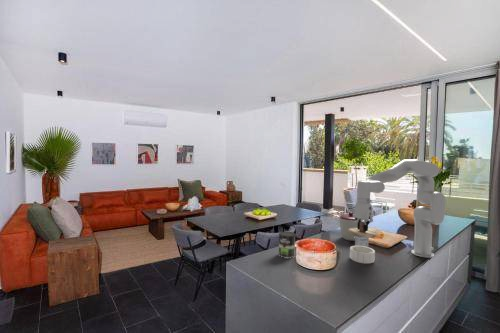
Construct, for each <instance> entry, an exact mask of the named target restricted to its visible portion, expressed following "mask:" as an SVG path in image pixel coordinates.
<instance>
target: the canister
mask: <svg viewBox="0 0 500 333" xmlns="http://www.w3.org/2000/svg"><path fill="white" fill-rule="evenodd" d="M353 216H354V213H353V212H352V211H350V212H348V214H341V215H339V216H338V219H339V229H340V230H339V231H340V236H341V238H342V239H343V240H346V241H350V242H351V241H352V242H355V238H354V237H355V236H353V235H351V234H349V233H348V229H351V228H358V223H357V221H356V219H355V218H354V217H353ZM361 221H363V222H364V219H362V220H361Z"/></svg>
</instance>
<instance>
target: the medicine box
mask: <svg viewBox="0 0 500 333" xmlns="http://www.w3.org/2000/svg"><path fill="white" fill-rule="evenodd" d="M369 242H370V241H369V238H364V237H357V236H355V241H354V246H366V247H369Z"/></svg>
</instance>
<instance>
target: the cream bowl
mask: <svg viewBox="0 0 500 333" xmlns="http://www.w3.org/2000/svg"><path fill="white" fill-rule="evenodd" d="M375 255H376V250H375V249H373V248H371V247H369V246H368V247H366V246H355V245H352V246H350V247H349V259H351V261H352V262H356V263H359V264H373V263H375V261H376V260H375V258H376V256H375Z"/></svg>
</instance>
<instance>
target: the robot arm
mask: <svg viewBox="0 0 500 333" xmlns="http://www.w3.org/2000/svg"><path fill="white" fill-rule="evenodd" d="M439 173H440V167H439V166H438V165H437V164H435V163H432V162H429V161H424V160H422V159H416V158H413V159H410V158H409V159H402V160H401V161H399V162H397V163H396V164H394V165H393V166H391V167H390V168H388V169H386V170H383V171H381V172H378V173H375V174H372V175H371V176H369V177H368V178H366V179H365V180H358V181H357V183H356V186H357V188H356V202H355V205H354V213H353V215H354V216H353V217H354V218H355V219H356V221H357V223H358V230H359V229H360V221H361V220H362V219H364V220H363V222H364V224H365V225H364V231H368V229H369V225H370V224H371V223H373V222H374V219H373V207H372V200H371V193H375V194H380V193H383V192H384V190H385V188H386V186H385V183H392V182H397V181H398V180H400V179H401V178H403V177H404V176H406V175H408V174H413V175H414V176H415V178H416V179H417V181H418V188H417V189H418V190H417V201H418V202H419V203H420V204H422V205H423V206H421V205H419V206H416V207H415V208H414V209H413V212H412V214H413V219H414V238H413V239H414V240H413V241H414V243H413V249H412V250H411V251H410V252H411V254H412V255H414V256H418V257H420V258H426V259H427V258H429V259H431V258H434V257H435V254H434V252H432V251H433V250H434V247H433V246H432V243H433V226H432V225H441V224H442V223H443V222H444V220H445V214H446V206H447V204H446V203H447V198H446V197H445V195H444V193H442V192H440V191H435V180H434V178H435V177H437V176H438V175H439ZM424 205H425V206H424ZM428 206H430V207H428Z"/></svg>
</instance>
